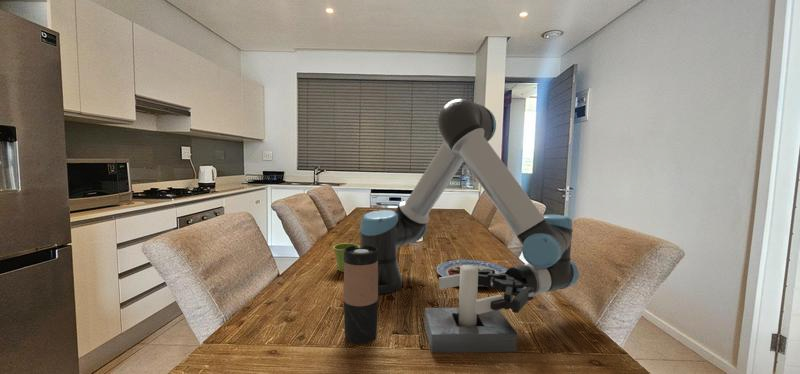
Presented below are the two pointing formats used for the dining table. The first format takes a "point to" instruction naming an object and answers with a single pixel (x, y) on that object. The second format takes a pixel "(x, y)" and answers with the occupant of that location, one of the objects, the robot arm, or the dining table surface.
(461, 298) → the peg
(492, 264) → the ceramic plate
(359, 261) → the travel mug
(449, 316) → the hole block
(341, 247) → the plant pot
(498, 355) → the dining table surface
